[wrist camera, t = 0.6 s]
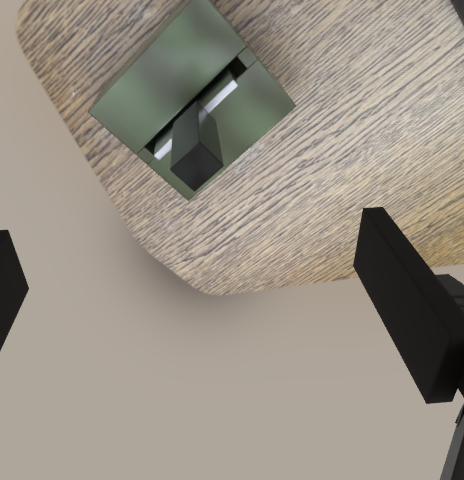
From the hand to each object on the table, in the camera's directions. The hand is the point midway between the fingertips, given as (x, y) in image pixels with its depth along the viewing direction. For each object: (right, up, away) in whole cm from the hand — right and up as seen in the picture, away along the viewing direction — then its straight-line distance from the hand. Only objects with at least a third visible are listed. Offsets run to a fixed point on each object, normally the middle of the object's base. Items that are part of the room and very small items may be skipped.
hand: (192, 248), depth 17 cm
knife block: (-2, +14, +22) cm, 26 cm away
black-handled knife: (-2, +14, +22) cm, 26 cm away
